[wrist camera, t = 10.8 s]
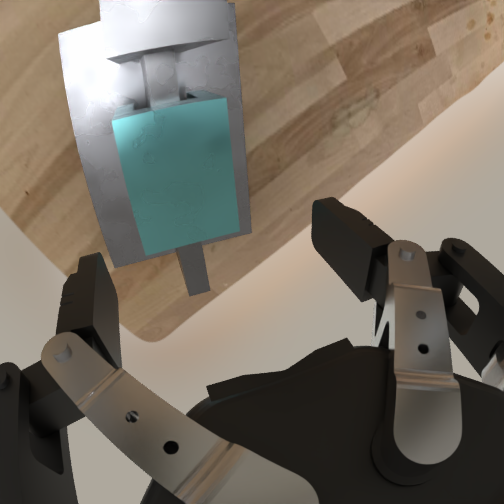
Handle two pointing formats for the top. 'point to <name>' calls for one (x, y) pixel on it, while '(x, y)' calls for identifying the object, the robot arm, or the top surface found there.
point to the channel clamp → (178, 170)
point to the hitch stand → (150, 103)
